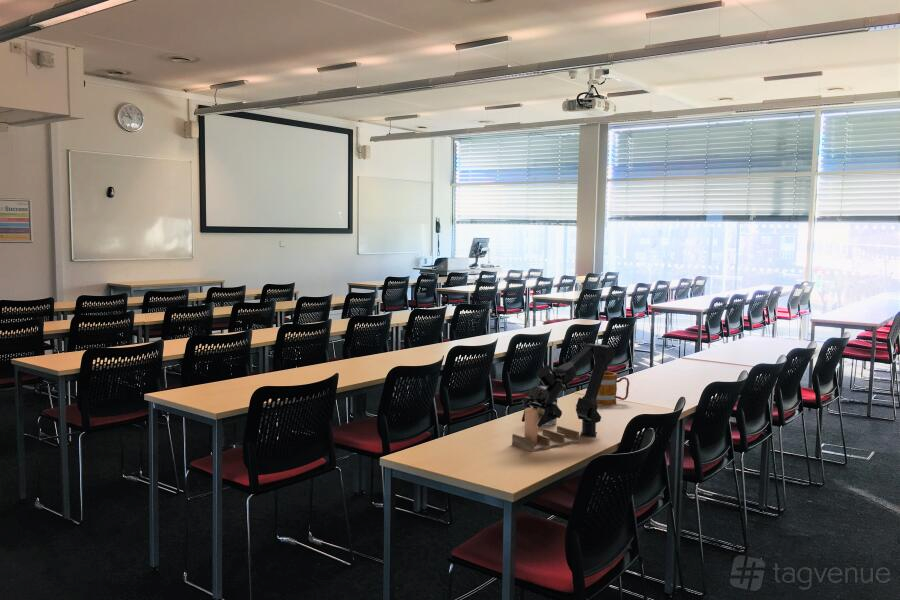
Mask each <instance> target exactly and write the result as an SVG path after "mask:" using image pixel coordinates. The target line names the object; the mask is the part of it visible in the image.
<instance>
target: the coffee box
mask: <svg viewBox="0 0 900 600" xmlns="http://www.w3.org/2000/svg"><path fill="white" fill-rule="evenodd" d="M546 388H547V386H544V385H536V387H535V389H538V390H542V389H546ZM556 399H557V400H558V397H557V398H556ZM535 402H536V403H537V401H536V400H535ZM553 404H555V405H557V406H558V401H557V402H554V403H553ZM537 409H538V423H539V421H540V419H541V418H542V416H543V414H544V410H543V409H539V408H537ZM557 419H558V418H557ZM557 419H554V420H552V421H549V422H547V423H546V424H544V425H543V426H553V425H552V424H556V425H557V423H558V422H557V421H558V420H557Z"/></svg>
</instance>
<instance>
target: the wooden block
mask: <svg viewBox="0 0 900 600" xmlns="http://www.w3.org/2000/svg"><path fill="white" fill-rule="evenodd" d="M524 409H525V421H524V435H523V437H525V438H528V439H531V440H533V441H534V445H537V437H538V434H539V433H538V432H539V431H538V430H539V429H538V428H539V427H538V426H537V425H538V423H539V422H538V409H536V408H525V407H524Z"/></svg>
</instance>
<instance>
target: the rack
mask: <svg viewBox="0 0 900 600" xmlns="http://www.w3.org/2000/svg"><path fill="white" fill-rule="evenodd" d="M511 438H512V439H511V444H512V445H513V446H515V447H518V448H521V449H523V450H527V451H529V452H531V451H532V452H533V451H534V452H538V451H543V450H547V448H548V449H553V448H557V447H556V446H558V447H562V446H566V445H565V444H567V445H571V444H570V443H572V444H575V443H574V442H577V443H579V442H580V431H577V430H574V429H571V428H568V427H563V426H560V425H557V426H556V431H554V430H551V429H549V428H548V429H547V428H545V427H543V428H542V433H541V434H539V433H538V437H537V445H534V441H533V440H531V439H528V438H525V437H524V436H522V435H519V434H516V433H513V434H512V437H511ZM561 445H562V446H561ZM552 447H553V448H552Z"/></svg>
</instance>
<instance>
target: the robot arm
mask: <svg viewBox="0 0 900 600" xmlns="http://www.w3.org/2000/svg"><path fill="white" fill-rule="evenodd" d="M615 355H616V350H615V348H614V347H613V346H612V345H606V344H601V343H600V344H594V343H586V344H585V345H584V347H583V348H582V349H581V350H580V351H579V352H578V353H576V355H575V356H574V357H572V358H571V359H570V360H569V361H568V362H566V363H563V364H561V365H559V366H558V367H556V368H555V369H554V370H553V369H552V366H550V365H549V364H546V365H544V366H543V367H540V368H539V369H537V371H536V373H535V376H536V377H537V379H538V380H539V381H540V382H541V383H542V386H547V388H546V389H542V390H538V389H536V388H534V387H531V388H530V391H529V394H528V396H524V397H523V398H522V400H521V402H522V405H523V407H524V408H523V409H524V410H523V414H522V418H521V421H522V423H525V408H536V409H537V408H539V409H543V410H544V414H543V416H542V418H541V419H540V421H539V422H538V425H537V426H538V428H540V427H542V426H545V425H544V424H546V423H547V422H549V421H552V420H554V419H560V418H561V417H562V415H563V411H562V410H561V409H560V407H559V406H558V404H557V405H555V404H553V403H554V402H557V403H558V397H559V395H560V393H562V392H564V393H566V392H567V387H566V384H563V383H567V384H570V383H571V382H572V381H573V380H574V379H575V377H576V376H577V372H578V371H579V370H580V369H581V367H583V366H585V364H586V363H587V362H588V361H589V360H590V359H591V358H592V357H593V360H594V365H593V368H592V371H591V372H592V374H591V373H590V374H591V375H590V378H589V381H588V384H587V388H586V390H585V393H584V396H582V397H578V399H577V403H576V404H575V412H576V415H577V419H578V420H582V421H581V424H582V425H581V431H580V436H581V435H585V436H584V437H593V436H596V437H597V435H596V434H598V431H596V430H597V423H600V422H601V419H602V416H601V414H600V413H599V412H598V408H599V405H598V404H597V401H596V398H597V395H598V392H599V389H600V385H601V382H602V379H603V376H604V373H605V371H607V370H606V369H607V367H608V366H609V365H610V364H611V363H612V362H613V360H614V358H615ZM529 396H530V397H529ZM556 398H557V399H556ZM536 401H537V403H536Z"/></svg>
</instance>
